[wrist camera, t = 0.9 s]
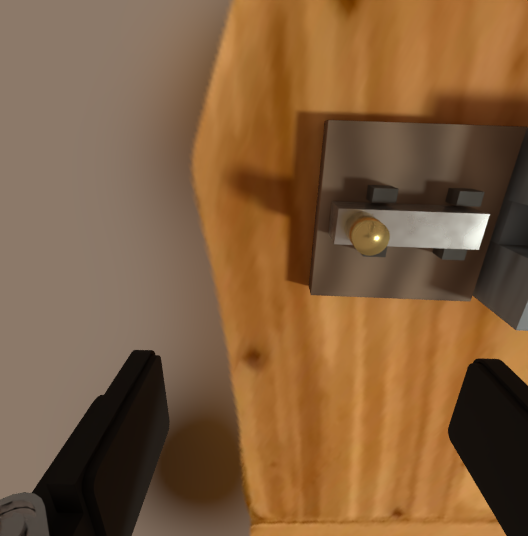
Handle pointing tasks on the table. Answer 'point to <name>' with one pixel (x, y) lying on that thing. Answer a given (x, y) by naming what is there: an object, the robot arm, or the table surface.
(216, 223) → the table surface
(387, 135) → the frame
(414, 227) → the bolt
